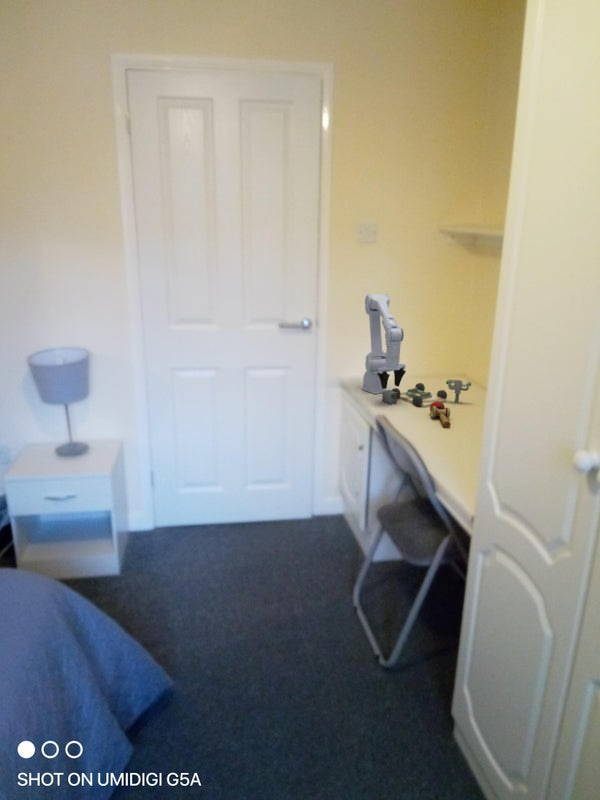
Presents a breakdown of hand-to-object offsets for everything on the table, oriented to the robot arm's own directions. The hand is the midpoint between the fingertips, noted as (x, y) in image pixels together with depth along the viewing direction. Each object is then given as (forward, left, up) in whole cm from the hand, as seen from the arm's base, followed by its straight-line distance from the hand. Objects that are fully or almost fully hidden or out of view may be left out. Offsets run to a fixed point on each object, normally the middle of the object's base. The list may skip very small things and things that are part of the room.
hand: (390, 387), depth 254 cm
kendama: (+27, +2, -8) cm, 28 cm away
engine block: (0, 0, -7) cm, 7 cm away
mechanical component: (+16, +25, -7) cm, 31 cm away
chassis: (+3, +15, -7) cm, 17 cm away
